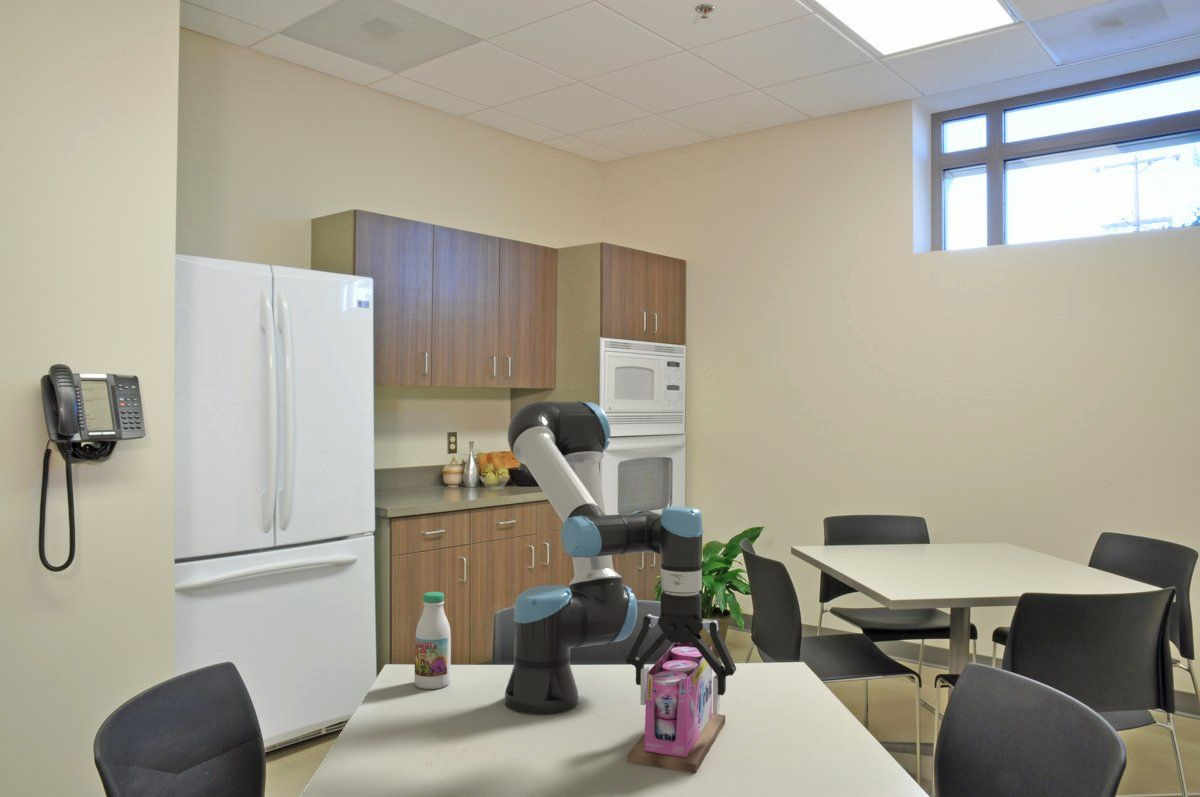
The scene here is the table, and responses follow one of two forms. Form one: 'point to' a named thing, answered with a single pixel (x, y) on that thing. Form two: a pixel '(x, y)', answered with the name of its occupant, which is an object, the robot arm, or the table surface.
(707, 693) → the gum box
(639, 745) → the walnut board
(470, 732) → the table surface
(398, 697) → the table surface
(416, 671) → the milk bottle
